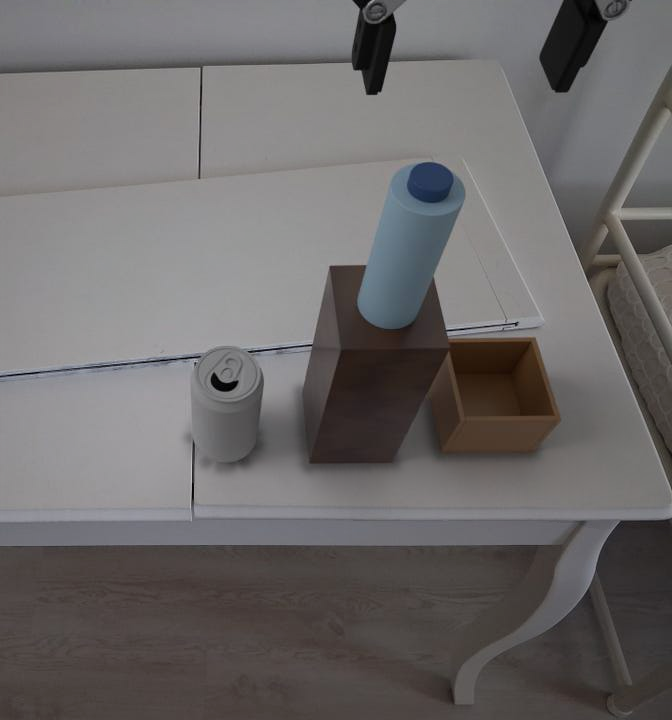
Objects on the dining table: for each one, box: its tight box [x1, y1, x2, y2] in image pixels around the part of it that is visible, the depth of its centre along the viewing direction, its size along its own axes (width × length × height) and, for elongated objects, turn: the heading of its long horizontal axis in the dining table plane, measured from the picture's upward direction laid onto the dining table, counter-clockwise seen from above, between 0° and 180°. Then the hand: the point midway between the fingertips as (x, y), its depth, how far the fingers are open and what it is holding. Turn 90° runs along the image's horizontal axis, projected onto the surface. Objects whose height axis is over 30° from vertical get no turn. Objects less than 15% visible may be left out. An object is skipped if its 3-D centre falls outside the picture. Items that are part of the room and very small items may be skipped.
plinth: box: [301, 264, 450, 465], centre depth 63 cm, size 8×8×20 cm
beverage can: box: [189, 345, 265, 463], centre depth 66 cm, size 6×6×12 cm
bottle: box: [357, 161, 467, 329], centre depth 49 cm, size 5×5×13 cm
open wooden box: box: [428, 336, 562, 453], centre depth 70 cm, size 9×9×6 cm
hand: (460, 77), depth 38 cm, fingers open, 9 cm apart
